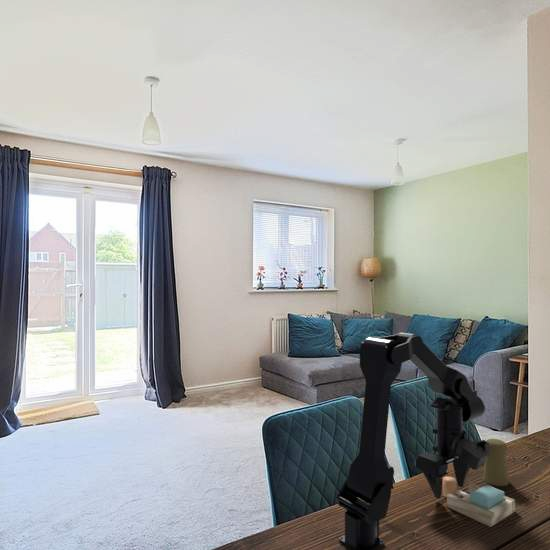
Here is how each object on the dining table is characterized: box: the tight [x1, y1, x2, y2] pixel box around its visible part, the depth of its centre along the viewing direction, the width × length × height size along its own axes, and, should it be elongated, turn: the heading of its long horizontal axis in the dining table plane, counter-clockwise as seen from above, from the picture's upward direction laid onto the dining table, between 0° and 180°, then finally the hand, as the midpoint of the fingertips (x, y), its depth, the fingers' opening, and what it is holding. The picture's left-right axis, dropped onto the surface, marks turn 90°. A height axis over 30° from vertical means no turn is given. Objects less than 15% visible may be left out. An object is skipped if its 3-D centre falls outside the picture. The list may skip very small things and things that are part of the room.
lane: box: [446, 482, 516, 528], centre depth 99 cm, size 10×10×4 cm
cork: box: [482, 438, 510, 487], centre depth 113 cm, size 6×6×11 cm
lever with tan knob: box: [442, 476, 505, 510], centre depth 101 cm, size 7×12×5 cm, turn 36°
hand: (449, 492), depth 105 cm, fingers open, 9 cm apart
